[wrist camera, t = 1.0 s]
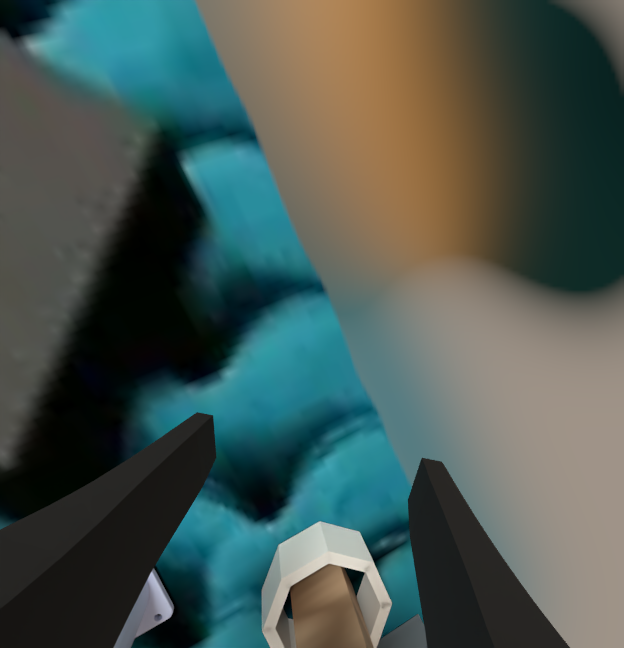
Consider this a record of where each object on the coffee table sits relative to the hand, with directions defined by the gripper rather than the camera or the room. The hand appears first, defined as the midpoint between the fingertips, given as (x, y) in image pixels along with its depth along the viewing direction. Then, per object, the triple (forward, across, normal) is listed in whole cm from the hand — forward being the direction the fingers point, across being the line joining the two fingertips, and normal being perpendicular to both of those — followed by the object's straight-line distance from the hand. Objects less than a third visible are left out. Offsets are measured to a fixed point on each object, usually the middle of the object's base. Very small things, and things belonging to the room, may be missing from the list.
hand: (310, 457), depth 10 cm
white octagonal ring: (+6, -1, +20) cm, 20 cm away
